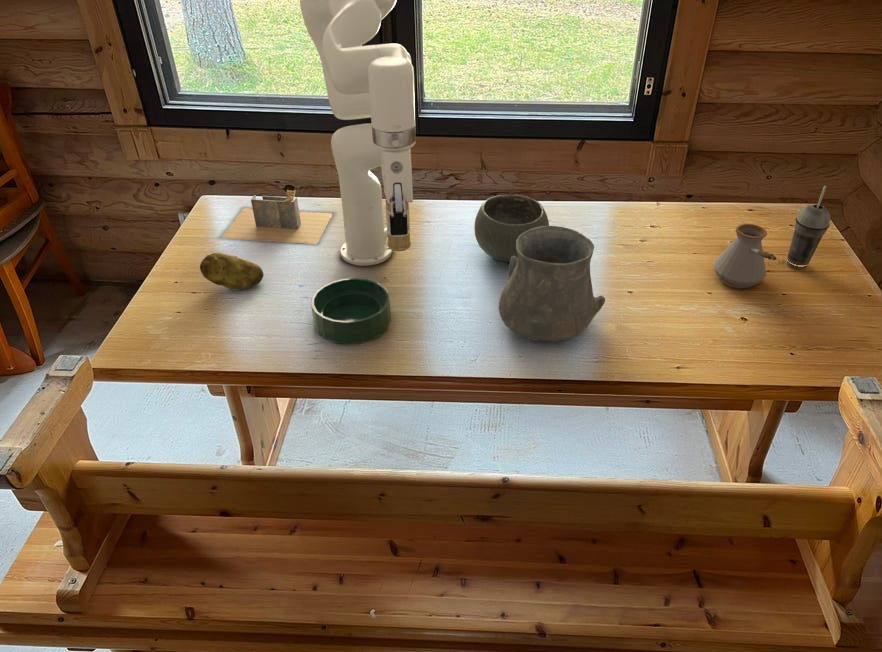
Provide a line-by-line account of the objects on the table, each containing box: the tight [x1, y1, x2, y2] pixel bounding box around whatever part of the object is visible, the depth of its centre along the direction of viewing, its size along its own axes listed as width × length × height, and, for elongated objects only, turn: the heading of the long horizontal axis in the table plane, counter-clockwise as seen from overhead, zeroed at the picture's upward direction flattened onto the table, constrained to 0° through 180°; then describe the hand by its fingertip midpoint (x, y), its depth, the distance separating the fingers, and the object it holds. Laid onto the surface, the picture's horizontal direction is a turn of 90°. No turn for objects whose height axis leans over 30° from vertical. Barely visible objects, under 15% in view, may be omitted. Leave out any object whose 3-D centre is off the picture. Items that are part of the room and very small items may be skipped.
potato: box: [199, 252, 264, 291], centre depth 156 cm, size 8×13×8 cm, turn 80°
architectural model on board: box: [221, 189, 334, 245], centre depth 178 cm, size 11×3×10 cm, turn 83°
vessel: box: [498, 225, 606, 343], centre depth 141 cm, size 22×22×20 cm
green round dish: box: [310, 277, 392, 345], centre depth 146 cm, size 16×16×6 cm
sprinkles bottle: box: [383, 184, 412, 252], centre depth 130 cm, size 5×5×14 cm
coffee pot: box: [713, 223, 781, 289], centre depth 152 cm, size 21×12×15 cm, turn 176°
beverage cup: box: [785, 185, 831, 271], centre depth 159 cm, size 7×7×20 cm
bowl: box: [473, 194, 550, 263], centre depth 165 cm, size 18×18×13 cm
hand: (398, 226), depth 131 cm, fingers closed on sprinkles bottle, 4 cm apart
